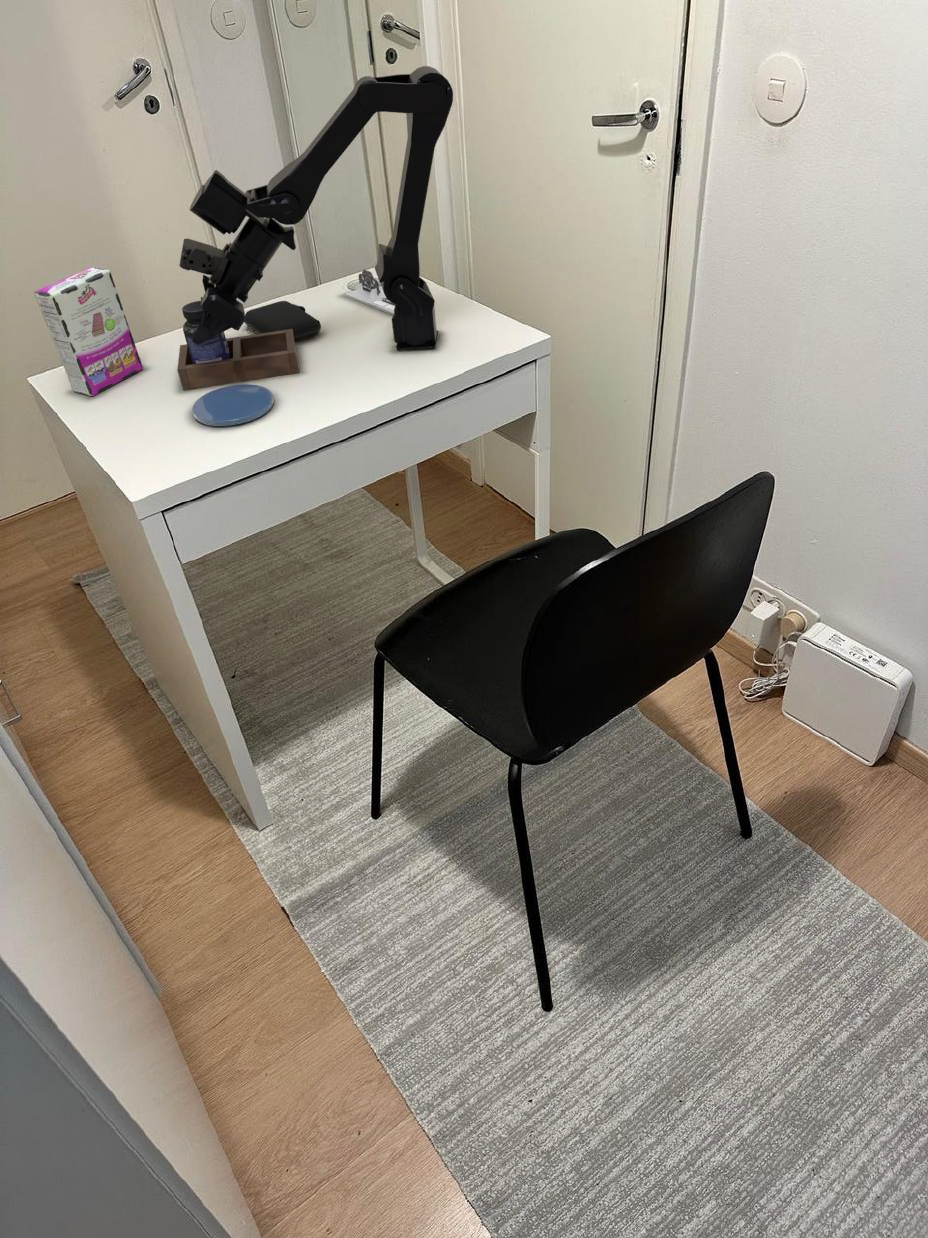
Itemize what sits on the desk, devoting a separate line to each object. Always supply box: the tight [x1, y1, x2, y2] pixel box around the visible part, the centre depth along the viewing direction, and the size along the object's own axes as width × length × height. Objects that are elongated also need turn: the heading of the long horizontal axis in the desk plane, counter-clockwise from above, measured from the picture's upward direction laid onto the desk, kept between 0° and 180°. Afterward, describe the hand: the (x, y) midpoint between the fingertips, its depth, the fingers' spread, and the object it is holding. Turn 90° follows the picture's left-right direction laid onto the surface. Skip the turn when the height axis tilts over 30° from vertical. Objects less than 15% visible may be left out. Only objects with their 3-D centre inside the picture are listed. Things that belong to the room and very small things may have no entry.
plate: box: [192, 383, 275, 427], centre depth 135 cm, size 12×12×1 cm
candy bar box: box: [33, 266, 144, 397], centre depth 141 cm, size 11×5×16 cm, turn 148°
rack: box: [176, 329, 301, 391], centre depth 145 cm, size 18×10×4 cm, turn 101°
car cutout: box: [344, 269, 396, 316], centre depth 163 cm, size 15×7×4 cm, turn 42°
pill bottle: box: [181, 300, 231, 364], centre depth 142 cm, size 6×6×11 cm
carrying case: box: [243, 300, 322, 344], centre depth 156 cm, size 11×3×15 cm
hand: (195, 334), depth 141 cm, fingers closed on pill bottle, 6 cm apart
